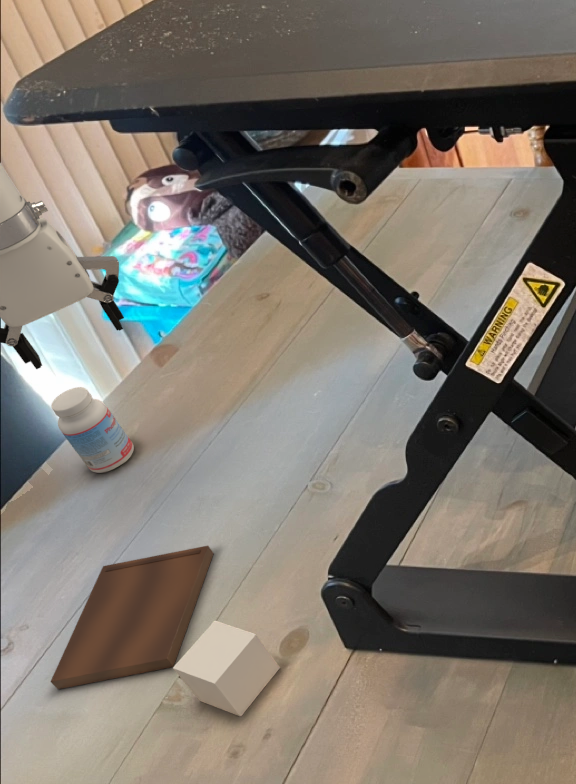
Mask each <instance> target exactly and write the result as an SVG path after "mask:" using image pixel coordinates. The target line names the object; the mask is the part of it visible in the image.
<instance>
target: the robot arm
mask: <svg viewBox="0 0 576 784" xmlns="http://www.w3.org/2000/svg"><path fill="white" fill-rule="evenodd" d="M48 211H49V210H48V208H47V206H46V205H45V203H44V201H43V200H40V201H36V202H35V201H34V202H30V201H27V200H26V199H25V197H24V196H23V194H22V193H21V192H20V191H19V189H18V188H17V186H16V184H15V183H14V181H13V179H12V178H11V177H10V175H9V174H8V172H7V170H6V169H5V167H4V166H3V165H2V163H1V162H0V320H2V321H3V323H4V326H3V327H0V344H5V345H6V346H8V347H12V348H13V350H15V352H16V353H17V355H18V356H19V357H20V359H21V360H22V361H23V363H24V364H25V365H26V364H28V363H31V364H32V366H33V367H34V368H35V369H36V370H38V369H41V368H42V366H43V364H42V363H43V362H42V361H41V357H40V355H39V354H38V352H37V351H36V349H35V347H33V345H32V344H31V342H30V341H29V340H28V339H27V337H26V336H25V334H24V333H23V332H22V329H23V326H27V325H29V324H31V323H33V322H36V321H38V320H40V319H42V318H45V317H47V316H49V315H51V314H54V313H56V312H59V311H60V310H62V309H65V308H67V307H70V306H72V305H73V304H76V303H78V302H80V301H82V300H84V299H85V298H89V299H92V300H96V301H98V302H99V304H100V306H101V309H102V310H103V312H104V313H105V314H106V316H107V318H108V319H109V321H110V322H111V324H112V325H113V327H114V328H115V330H116V331H122V330H124V327H123V325H122V323H121V320H123V319H125V317H124V315H123V313H122V311H121V310H120V308H119V307H118V305H117V303H116V302H115V300H114V298H115V297H114V295H115V292H116V290H117V287H118V285H119V283H120V280H119V279H120V278H119V277H120V275H119V274H120V262H119V260H118V258H117V256H114V255H108V256H107V255H105V256H101V255H100V256H77V254H76V253H75V251H74V250H73V249H72V247H71V246H70V244H69V243H68V242H67V241H66V239H65V238H64V236H62V235H61V233H60V232H59V231H58V230H57V229H56V228H55V226H54V225H53V224H52V223H51V222H50V221H49V220H47V219H46V218H45V217H40V216H42V215H43V214H44V213H47V212H48ZM89 270H90V271H91V270H105V274H104V277H103V280H102V283H99V282H96V281H94V280H91V278H90V274H89V272H88V271H89Z"/></svg>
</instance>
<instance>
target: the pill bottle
mask: <svg viewBox="0 0 576 784" xmlns="http://www.w3.org/2000/svg"><path fill="white" fill-rule="evenodd" d="M50 407H51V410H52V411H53V412H54V414H55V415H56V416H57V417H58V419H57V426H58V429H59V431H60V432H61V433H62V435H63V436H64V438H65V439H66V440H67V441H68V443H69V444H70V445H71V447H72V448H73V450H74V451H75V452H76V454H77V455H78V456H79V458H80V459H81V460H82V461H83V463H84V464H85V466H86V467H87V469H88V470H90V471H91V472H93V473H98V474H100V473H107V472H110V471H112V470H115V469H116V468H118V467H119V466H121V465H123V464H125V463H126V462H127V461H128V460H129V459H130V458H131V457H132V455H133V453H134V450H135V446H134V443H133V441H132V440H131V439H130V437H129V436H128V434H127V433H126V431H125V430H124V429H123V428H122V426H121V424H120V423H119V422H118V421H117V418H116V417H115V416H114V415H113V413H112V411H110V409H109V407H108V406H107V405H106V404H105V402H103V401H102V400H100V399H97V398H93V395H92V394H91V393H90V392H89V390H88V389H87V388H86V387H83V386H78V387H77V386H76V387H72V388H70V389H67V390H65V391H63V392H62V393H60V394H58V395H57V396H56V397H55V398H54V399H53V400H52V402H51V404H50Z"/></svg>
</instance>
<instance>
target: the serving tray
mask: <svg viewBox="0 0 576 784" xmlns="http://www.w3.org/2000/svg"><path fill="white" fill-rule="evenodd" d="M213 557H214V552H213V550H212V549H211V547H210V546H209V545H204V546H198V547H193V548H187V549H184V550H178V551H172V552H168V553H163V554H159V555H153V556H148V557H147V556H146V557H143V558H138V559H133V560H128V561H123V562H117V563H113V564H107V565H103V566H102V567H101V570H100V572H99V574H98V576H97V578H96V581H95V583H94V586H93V587H92V590H91V591H90V594H89V596H88V598H87V600H86V603H85V605H84V607H83V609H82V612H81V614H80V615H79V618H78V621H77V622H76V625H75V627H74V629H73V631H72V632H71V636H70V638H69V640H68V642H67V644H66V647H65V649H64V651H63V653H62V655H61V657H60V660H59V662H58V664H57V666H56V668H55V670H54V673H53V675H52V678H51V680H50V683H51V684H52V685H53V687H55V688H56V689H57V690H63V689H67V688H72V687H78V686H82V685H83V686H84V685H88V684H92V683H98V682H102V681H108V680H114V679H118V678H124V677H128V676H133V675H140V674H144V673H150V672H154V671H159V670H164V669H170V668H173V667H174V666H175V665H176V664H175V663H176V661H177V658H178V655H179V653H180V648H181V647H182V644H183V641H184V638H185V635H186V633H187V630H188V627H189V624H190V621H191V619H192V615H193V613H194V610H195V607H196V604H197V602H198V599H199V596H200V593H201V590H202V587H203V585H204V582H205V579H206V577H207V574H208V570H209V568H210V565H211V562H212V559H213Z"/></svg>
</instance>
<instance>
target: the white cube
mask: <svg viewBox="0 0 576 784" xmlns="http://www.w3.org/2000/svg"><path fill="white" fill-rule="evenodd" d="M177 661H178V662H176V664H174V667H172V670H174V672H175V673H176V674H177V676H179V678H180V679H181V680H182V682H183V683H184V684H185V685H186V686H187V688H188V689H189V690H190V691H191V692H192V694H193V695H194V696H195V698H197V700H198V701H199V702H202V703H204V704H207V705H209V706H212V707H215V708H217V709H218V710H221V711H224V712H228V713H230V714H233V715H235V716H238V717H242V716H243V715H244V714H245V712H246V711H247V710H248V708H249V707H250V706H251V705H252V703H254V701H255V700H256V698H257V697H258V696H259V695H260V694H261V692H262V691H263V690H264V689H265V687H266V686H267V685H268V684H269V682H270V681H271V680H272V678H273V677H274V676H275V675H276V674H277V672H278V671H279V670H280V669H281V667H280V665H279V664H278V663H277V661H276V660H275V659H274V657H273V656H272V654H271V652H270V651H269V650H268V649H267V647H266V646H265V644H264V643H263V642H262V641H261V638H259V636H258V635H257V634H256V633H253V632H250V631H247V630H245V629H242V628H239V627H236V626H233V625H229V624H227V623H224V622H221V621H218V620H214V621H213V622H211V624H210V625H209V626H208V627H207V628H206V630H205V631H204V632H203V633H202V634H201V635H200V636H199V638H198V639H196V641H195V642H194V643H193V644H192V645H191V647H190V648H189V649H188V650H187V651H186V652H185V653H184V654H183V656H181V658H180V659H179V660H177Z"/></svg>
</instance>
